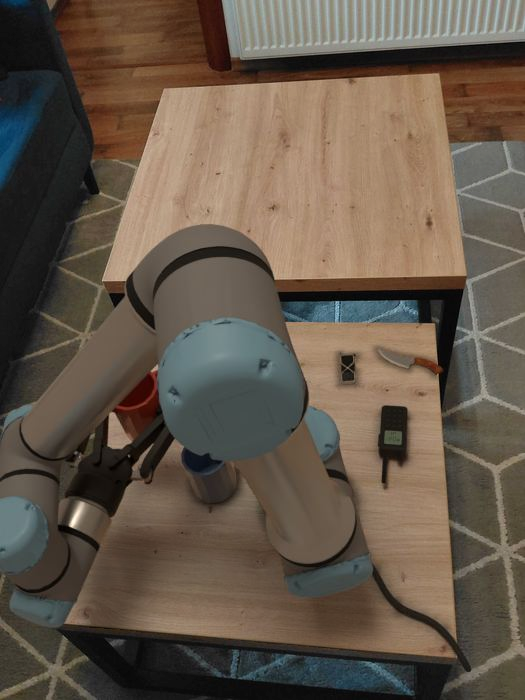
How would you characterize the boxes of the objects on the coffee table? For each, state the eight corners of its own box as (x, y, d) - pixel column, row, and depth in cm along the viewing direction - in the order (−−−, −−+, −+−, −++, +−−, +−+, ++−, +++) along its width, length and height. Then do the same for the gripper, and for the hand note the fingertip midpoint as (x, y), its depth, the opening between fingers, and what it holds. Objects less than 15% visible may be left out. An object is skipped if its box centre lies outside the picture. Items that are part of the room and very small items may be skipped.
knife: (373, 358, 127) (378, 347, 129) (373, 360, 128) (378, 349, 129) (440, 375, 122) (445, 363, 124) (440, 377, 123) (445, 365, 124)
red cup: (180, 430, 103) (165, 393, 96) (135, 453, 102) (116, 418, 94) (161, 396, 108) (145, 359, 100) (118, 418, 106) (99, 382, 99)
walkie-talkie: (407, 406, 116) (405, 479, 106) (407, 417, 118) (404, 490, 109) (380, 404, 117) (375, 477, 107) (380, 415, 119) (375, 487, 110)
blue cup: (244, 489, 113) (235, 460, 105) (204, 511, 111) (192, 483, 104) (225, 456, 118) (215, 426, 110) (186, 476, 116) (173, 447, 108)
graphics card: (340, 352, 129) (355, 351, 128) (340, 354, 129) (355, 353, 129) (341, 381, 124) (357, 380, 124) (341, 384, 125) (357, 383, 124)
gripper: (34, 504, 96) (101, 382, 109) (162, 536, 90) (216, 402, 103) (13, 480, 90) (86, 354, 103) (148, 512, 84) (206, 374, 97)
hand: (150, 378), depth 103 cm, fingers closed on red cup, 8 cm apart
